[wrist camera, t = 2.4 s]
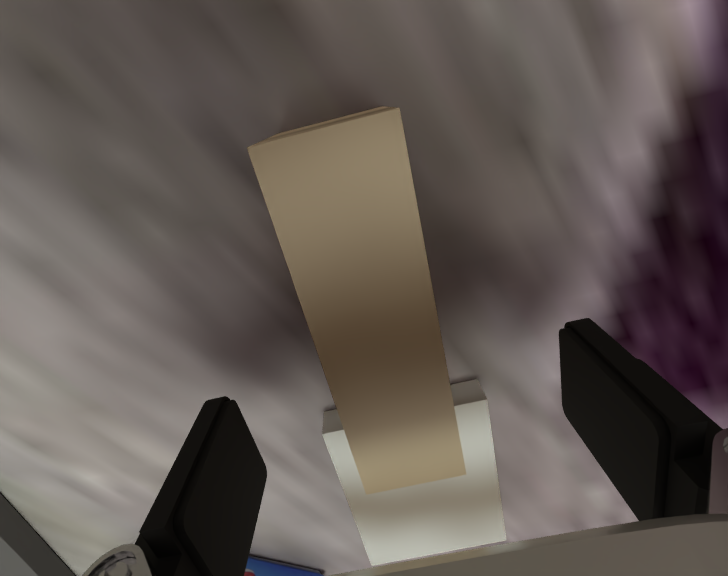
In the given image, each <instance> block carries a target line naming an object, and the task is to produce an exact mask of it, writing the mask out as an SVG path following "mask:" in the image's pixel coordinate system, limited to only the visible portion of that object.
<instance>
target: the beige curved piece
mask: <svg viewBox="0 0 728 576" xmlns="http://www.w3.org/2000/svg"><path fill="white" fill-rule="evenodd" d="M247 150H248V153H249V155H250V158H251V161H252V164H253V167H254V170H255V173H256V176H257V179H258V182H259V185H260V187H261V190H262V193H263V196H264V199H265V202H266V205H267V208H268V211H269V214H270V217H271V219H272V222H273V225H274V228H275V231H276V234H277V237H278V240H279V243H280V246H281V248H282V251H283V254H284V257H285V260H286V263H287V266H288V269H289V272H290V275H291V278H292V280H293V283H294V286H295V289H296V292H297V295H298V298H299V301H300V304H301V307H302V310H303V312H304V315H305V318H306V321H307V324H308V327H309V330H310V333H311V336H312V339H313V342H314V344H315V347H316V350H317V353H318V356H319V359H320V362H321V365H322V368H323V371H324V374H325V376H326V379H327V382H328V385H329V388H330V391H331V394H332V397H333V400H334V403H335V406H336V408H337V409H335V410H331V411H326V412H324V417H323V431H322V435H323V438H324V440H325V443H326V446H327V448H328V451H329V454H330V456H331V459H332V461H333V464H334V467H335V469H336V472H337V475H338V477H339V480H340V483H341V485H342V488H343V491H344V493H345V496H346V499H347V501H348V504H349V507H350V509H351V512H352V515H353V517H354V520H355V523H356V525H357V528H358V531H359V533H360V536H361V538H362V541H363V544H364V546H365V549H366V552H367V554H368V557H369V560H370V562H371V565H372V566H374V565H379V564H384V563H389V562H395V561H400V560H405V559H410V558H416V557H421V556H426V555H432V554H437V553H442V552H447V551H453V550H458V549H463V548H469V547H474V546H479V545H484V544H490V543H495V542H500V541H505V540H506V534H505V527H504V519H503V512H502V505H501V497H500V490H499V483H498V475H497V468H496V461H495V454H494V446H493V439H492V432H491V424H490V417H489V410H488V402H487V398H486V396H485V394H484V392H483V390H482V388H481V385H480V383H479V381H478V379H475V380H470V381H466V382H461V383H456V384H452V385H450V381H449V376H448V370H447V365H446V359H445V354H444V348H443V343H442V337H441V332H440V326H439V321H438V315H437V310H436V305H435V299H434V294H433V288H432V283H431V277H430V272H429V266H428V261H427V255H426V250H425V244H424V239H423V233H422V228H421V222H420V217H419V212H418V206H417V201H416V195H415V190H414V184H413V179H412V173H411V168H410V162H409V157H408V151H407V146H406V140H405V135H404V129H403V124H402V119H401V113H400V108H395V107H385V106H381V107H378V108H374V109H370V110H366V111H362V112H358V113H355V114H351V115H347V116H343V117H339V118H335V119H332V120H328V121H324V122H320V123H316V124H312V125H309V126H305V127H301V128H297V129H293V130H289V131H286V132H282V133H278V134H276V135H274V136H271V137H269V138H267V139H265V140H263V141H260V142H258V143H256V144H254V145H252V146H249V147H247Z"/></svg>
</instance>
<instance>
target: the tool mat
mask: <svg viewBox="0 0 728 576" xmlns="http://www.w3.org/2000/svg"><path fill="white" fill-rule="evenodd" d="M0 576H75V575H74V574H73V573H72V572H71V571H70V570H69V569H68V567H67V566H66V565H65V564H64V563H63V562H62V561H61V560H60V559H59V558H58V556H57V555H56V554H55V553H54V552H53V551H52V550H51V549H50V548H49V547H48V545H47V544H46V543H45V542H44V541H43V540H42V539H41V538H40V537H39V536H38V534H37V533H36V532H35V531H34V530H33V529H32V528H31V527H30V526H29V525H28V523H27V522H26V521H25V520H24V519H23V518H22V517H21V516H20V515H19V514H18V512H17V511H16V510H15V509H14V508H13V507H12V506H11V505H10V504H9V503H8V501H7V500H6V499H5V498H4V497H3V496H2V495H1V494H0Z"/></svg>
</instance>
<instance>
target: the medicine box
mask: <svg viewBox="0 0 728 576" xmlns="http://www.w3.org/2000/svg"><path fill="white" fill-rule="evenodd" d="M244 576H324V575H322V574H320V571H318V570H313V569H309V568H305V567H300V566H295V565H290V564H286V563H281V562H277V561H272V560H268V559H262V558H258V557H253V556H249V557H248V561H247V565H246V570H245V574H244Z"/></svg>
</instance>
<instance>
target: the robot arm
mask: <svg viewBox="0 0 728 576" xmlns="http://www.w3.org/2000/svg"><path fill="white" fill-rule="evenodd" d="M559 346H560V368H561V389H562V406H563V410H564V413H565V415H566V417H567V419H568V420H569V422H570V423H571V425H572V426H573V427H574V429H575V430H576V432H577V433H578V435H579V436H580V437H581V439H582V440H583V442H584V443H585V444H586V446H587V447H588V449H589V450H590V452H591V453H592V454H593V456H594V457H595V459H596V460H597V462H598V463H599V464H600V466H601V467H602V469H603V470H604V472H605V473H606V474H607V476H608V477H609V479H610V480H611V481H612V483H613V484H614V486H615V487H616V489H617V490H618V491H619V493H620V494H621V496H622V497H623V499H624V500H625V501H626V503H627V504H628V506H629V507H630V509H631V510H632V511H633V513H634V514H635V516H636V517H637V519H638V520H639V521H637V522H631V523H625V524H618V525H612V526H606V527H599V528H593V529H587V530H581V531H575V532H569V533H564V534H558V535H552V536H546V537H541V538H535V539H529V540H524V541H518V542H512V543H507V544H501V545H495V546H489V547H484V548H478V549H472V550H467V551H461V552H456V553H450V554H445V555H439V556H434V557H428V558H423V559H417V560H412V561H406V562H401V563H395V564H390V565H384V566H379V567H373V568H368V569H362V570H357V571H351V572H346V573H341V574H335V575H330V576H728V428H727V429H722V428H721V427H719V426H718V425H717V424H716V423H715V422H714V421H712V420H711V419H710V418H709V417H708V416H707V415H705V414H704V413H703V412H702V411H701V410H700V409H698V408H697V407H696V406H695V405H694V404H693V403H691V402H690V401H689V400H688V399H687V398H686V397H684V396H683V395H682V394H681V393H680V392H679V391H677V390H676V389H675V388H674V387H673V386H672V385H670V384H669V383H668V382H667V381H666V380H665V379H663V378H662V377H661V376H660V375H659V374H658V373H656V372H655V371H654V370H653V369H652V368H651V367H649V366H648V365H647V364H646V363H645V362H643V361H642V360H640V359H636V358H635V357H634V356H632V355H631V354H630V353H629V352H628V351H627V350H626V349H624V348H623V347H622V346H621V345H620V344H619V343H617V342H616V341H615V340H614V339H613V338H612V337H611V336H609V335H608V334H607V333H606V332H605V331H604V330H602V329H601V328H600V327H599V326H598V325H597V324H596V323H594V322H593V321H592V320H591V319H589V318H585V319H580V320H575V321H571V322H567V323H566V324H565V326H564V329H560V331H559ZM266 478H267V470H266V466H265V463H264V461H263V459H262V457H261V454H260V452H259V450H258V448H257V446H256V444H255V441H254V439H253V437H252V435H251V433H250V431H249V428H248V426H247V424H246V422H245V420H244V418H243V415H242V413H241V411H240V409H239V407H238V405H237V403H236V401H235V400H230V399H229V398H228V397H226V396H224V397H220V398H215V399H211V400H207V401H206V402H205V403H204V405H203V407H202V409H201V411H200V412H199V414H198V416H197V418H196V420H195V422H194V424H193V426H192V428H191V430H190V432H189V434H188V436H187V438H186V440H185V442H184V444H183V446H182V448H181V450H180V452H179V454H178V456H177V458H176V460H175V462H174V464H173V466H172V468H171V470H170V472H169V474H168V476H167V478H166V480H165V482H164V484H163V486H162V488H161V490H160V492H159V494H158V496H157V498H156V500H155V502H154V504H153V506H152V508H151V510H150V512H149V514H148V516H147V518H146V520H145V522H144V523H143V525H142V527H141V529H140V531H139V532H140V535H139V537H138V539H137V541H136V543H135V545H134V544H126V545H121V546H119V547H116V548H114V549H112V550H110V551H109V552H107V553H106V554H104V555H102V556H101V557H100V558H99V559H98V560H96V561H95V562H94V563H93V564H92V565H91V566H90V567H89V568H88V569H87V570H86V572H85V573H84V574H83V575H82V576H244V574H245V570H246V565H247V561H248V557H249V552H250V548H251V544H252V539H253V535H254V531H255V526H256V522H257V518H258V513H259V509H260V505H261V500H262V496H263V492H264V487H265V483H266Z"/></svg>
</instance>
